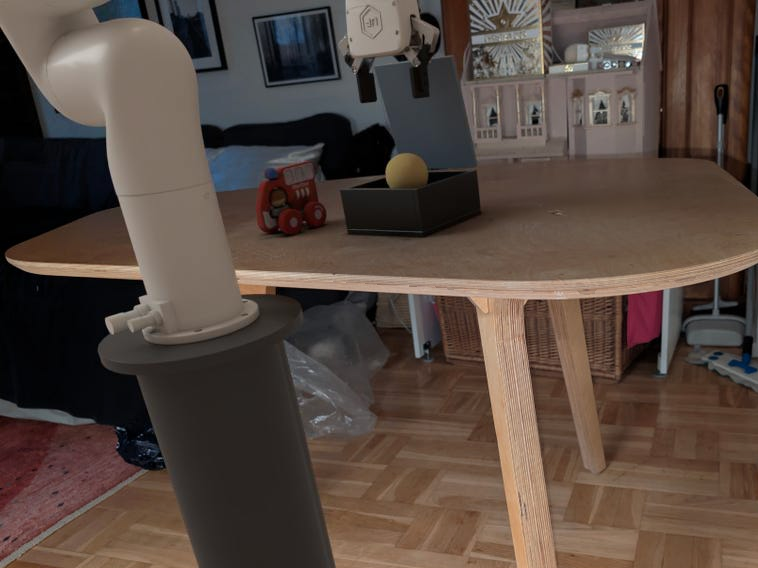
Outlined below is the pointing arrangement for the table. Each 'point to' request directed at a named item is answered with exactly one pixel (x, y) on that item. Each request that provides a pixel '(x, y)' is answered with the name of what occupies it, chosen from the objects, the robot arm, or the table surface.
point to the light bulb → (406, 171)
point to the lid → (428, 114)
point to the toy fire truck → (289, 199)
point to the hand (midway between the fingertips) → (394, 100)
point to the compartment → (411, 205)
